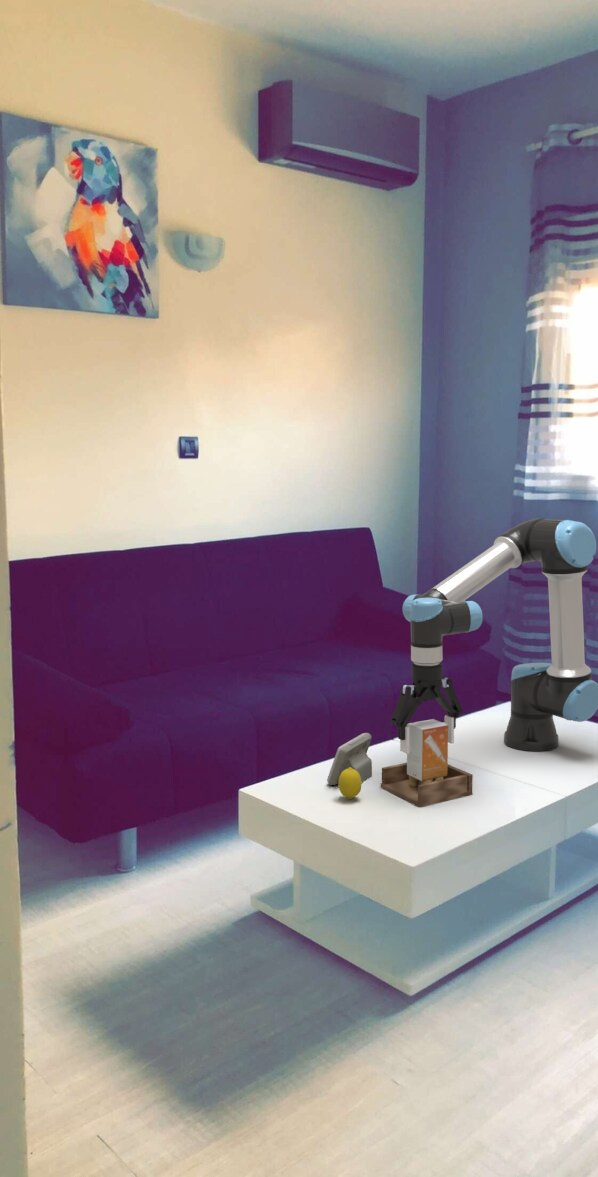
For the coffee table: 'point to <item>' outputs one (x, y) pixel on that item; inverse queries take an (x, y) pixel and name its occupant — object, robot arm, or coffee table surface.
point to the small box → (427, 749)
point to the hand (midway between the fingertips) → (427, 747)
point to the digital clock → (352, 759)
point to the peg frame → (426, 785)
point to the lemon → (350, 783)
